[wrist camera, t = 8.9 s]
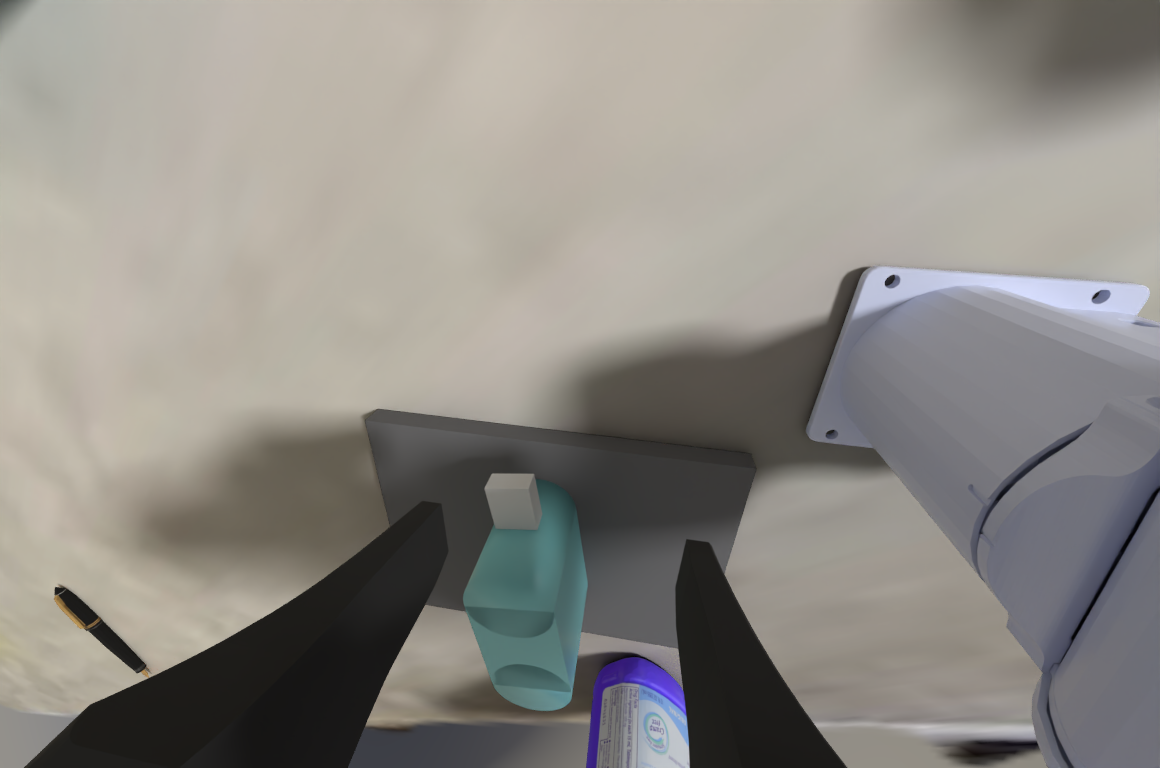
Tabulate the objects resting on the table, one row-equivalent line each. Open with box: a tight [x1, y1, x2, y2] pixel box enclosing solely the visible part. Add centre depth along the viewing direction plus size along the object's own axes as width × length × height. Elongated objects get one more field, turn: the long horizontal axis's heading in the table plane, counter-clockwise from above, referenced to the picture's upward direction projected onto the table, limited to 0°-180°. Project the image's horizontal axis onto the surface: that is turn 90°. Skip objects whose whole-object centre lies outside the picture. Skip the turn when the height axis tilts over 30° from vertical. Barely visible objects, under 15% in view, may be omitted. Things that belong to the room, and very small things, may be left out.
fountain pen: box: [54, 587, 149, 678], centre depth 40 cm, size 14×1×2 cm, turn 9°
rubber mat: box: [365, 409, 756, 648], centre depth 25 cm, size 20×15×1 cm
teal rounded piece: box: [463, 474, 588, 711], centre depth 21 cm, size 4×12×6 cm, turn 6°
